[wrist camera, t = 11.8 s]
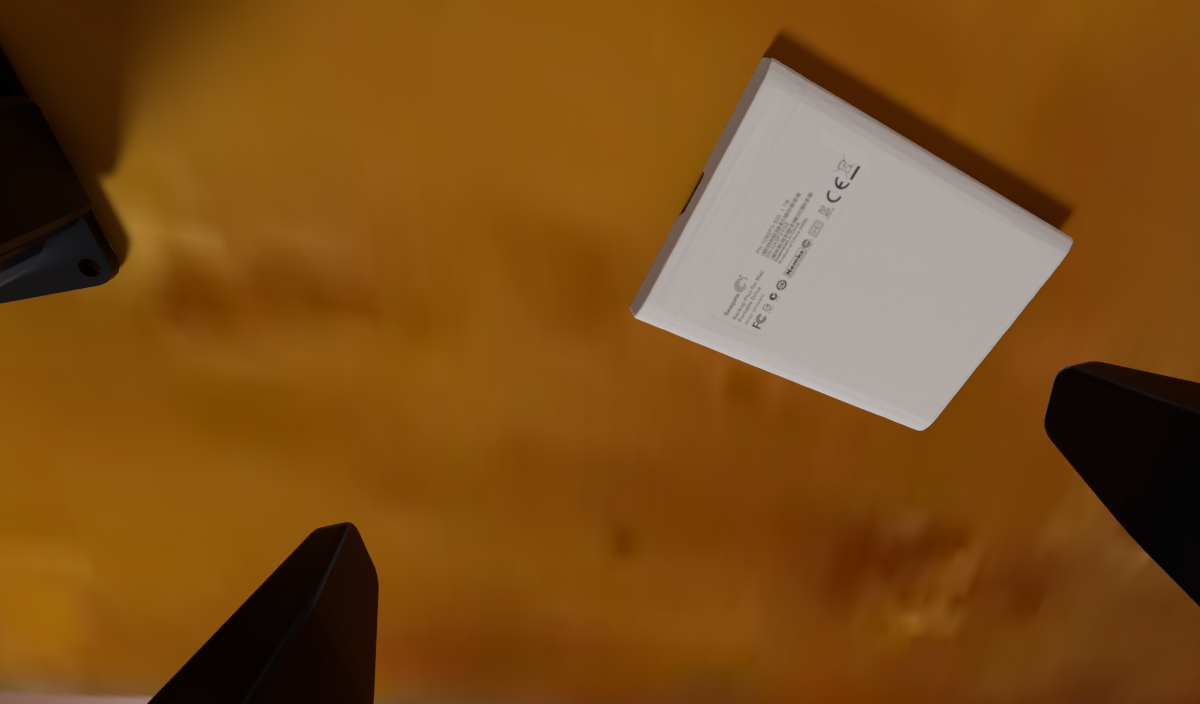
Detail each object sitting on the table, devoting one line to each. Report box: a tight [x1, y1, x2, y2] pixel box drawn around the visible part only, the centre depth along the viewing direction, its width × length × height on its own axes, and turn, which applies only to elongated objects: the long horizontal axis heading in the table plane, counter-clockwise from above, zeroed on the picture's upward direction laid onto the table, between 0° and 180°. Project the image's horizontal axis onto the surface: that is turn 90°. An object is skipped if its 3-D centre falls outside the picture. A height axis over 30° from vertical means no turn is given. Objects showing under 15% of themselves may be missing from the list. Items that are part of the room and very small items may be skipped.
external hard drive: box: [630, 57, 1073, 431], centre depth 20 cm, size 2×8×12 cm
